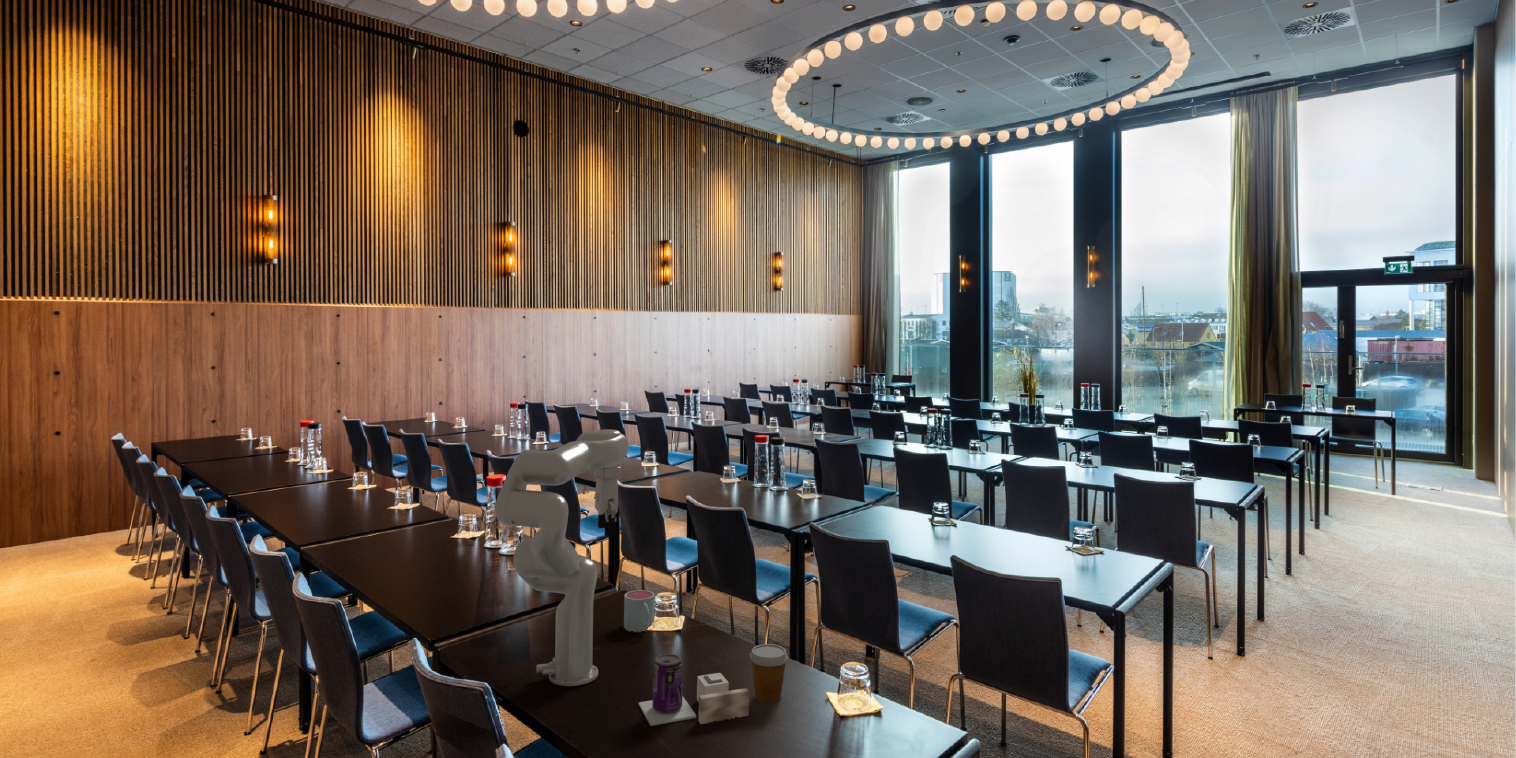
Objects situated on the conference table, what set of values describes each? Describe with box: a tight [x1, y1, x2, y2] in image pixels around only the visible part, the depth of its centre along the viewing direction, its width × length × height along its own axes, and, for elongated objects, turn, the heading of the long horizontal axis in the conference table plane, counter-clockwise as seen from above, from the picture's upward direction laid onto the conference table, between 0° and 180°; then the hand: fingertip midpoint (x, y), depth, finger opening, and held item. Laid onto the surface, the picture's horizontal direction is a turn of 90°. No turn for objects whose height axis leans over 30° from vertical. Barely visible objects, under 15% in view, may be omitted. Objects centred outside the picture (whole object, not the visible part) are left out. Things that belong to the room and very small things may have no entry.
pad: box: [638, 695, 697, 726], centre depth 183 cm, size 11×11×1 cm
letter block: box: [696, 672, 730, 703], centre depth 187 cm, size 6×6×6 cm
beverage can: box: [652, 653, 684, 713], centre depth 183 cm, size 7×7×12 cm
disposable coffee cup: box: [749, 643, 789, 704], centre depth 191 cm, size 10×10×12 cm
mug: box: [623, 589, 656, 633], centre depth 235 cm, size 14×9×10 cm
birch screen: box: [698, 687, 750, 725], centre depth 180 cm, size 12×2×6 cm, turn 113°
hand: (606, 531), depth 221 cm, fingers open, 9 cm apart
